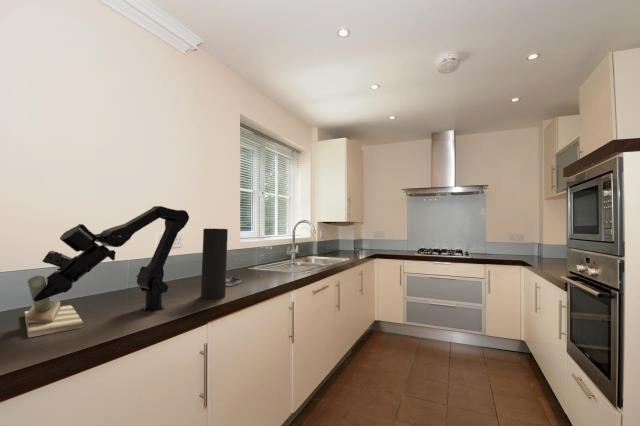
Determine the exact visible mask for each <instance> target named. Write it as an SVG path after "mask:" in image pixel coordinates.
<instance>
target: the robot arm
mask: <svg viewBox="0 0 640 426" xmlns="http://www.w3.org/2000/svg"><path fill="white" fill-rule="evenodd" d="M158 219H162V220H164V231H163V233H162V236H161V237H160V240H159V242H158V244H157V246H156V248H155V251H154V253H153V255H152V257H151V260H150V262H149V263H148V264H147V266H141V267H140V269H139V272H138V274H137V275H136V283H137V285H138V287H139V288H140V290H141V292H145V295H144V305H143V306H142V308H143V311H144V312H149V311H155V310H156V311H157V310H164V309H165V307H164V304H163V294H164V293H167V292H168V289H169V286H168V285H167V283H165V282H164V281H163V280H164V275H165V273H164V266H165V264H166V262H167V259H168V257H169V255H170V253H171V250H172V248H173V245H174V243H175V240H176V238H177V236H178V234H179V233H180V232H181V231H182V230H183V229H184V228H185V226H186V225H188V224H187V223H188V222H189V219H190V215H189V213H188V211H186V210H185V209H172V208H169V207H165V206H162V205H158V206H157V205H155V206H152V207H151V208H150V209H148V210H146V211H144V212H142V213H141V214H140V215H137V216H136V217H134V218H132V219H130V220H129V221H127V222H125V223H123V224H120V225H119V224H118V225H115V226H113V227H110V228H107V229H104V230H103V231H101V232H100V233H96V234H95V233H94V232H91V230H89V228H87V227H86V225H84V224H83V223H79V224H78V225H76V226H74V227H71V228H69V230H66V231H65V232H64V233H63V234H61V236H60V237H59V240H60V241H62V242H63V243H64V244H66V245H67V246H68V247H69V248H71V249H72V250H73V251H74V252H76V253H77V252H80V254H78V255H75V256H74V257H70V256H68V255H65V254H63V253H60V252H58V251H55V250H50V251H48V252H47V253H46V255H45V256H44V258H43V259H42V262H43V263H45V264H50V265H53V266H56V267H58V268H57V269H56V270H55V271H54V272H53V273H51V274H50V275H47V277H46V286H45V287H44V288H43V289H42V290H41V291H40V292H39V294H38V295H37V296H36V297H35V298H34V299H33V300H34V301H35V302H37V301H40V300H43V299H46V298H48V297H49V298H51V297H53V296H56V295H60V294H63V293H67V292H68V291H70V290H71V289H72V288H73V287H74V284H75V283H76V282H78V281H79V280H80V279H81V278H82V277H83V276H85V275H86V274H88V273H90V271H92V270H93V269H94V268H96V267H97V266H98V265H99V264H100V263H102V262H103V261H104V260H105V259H107V258H109V259H110V260H111V261H116V251H115V250H113V249H112V250H111V249H109V248H108V247H111V248H119V247H122V246H124V244H126V243H127V242H128V241H129V240H131V238H132V236H134V234H136V233H137V232H138V231H140V230H142V229H144V228H145V227H147V226H149V225H150V224H152V223H154V222H155V221H157V220H158ZM98 243H100V244H101V245H99V244H98Z"/></svg>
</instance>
